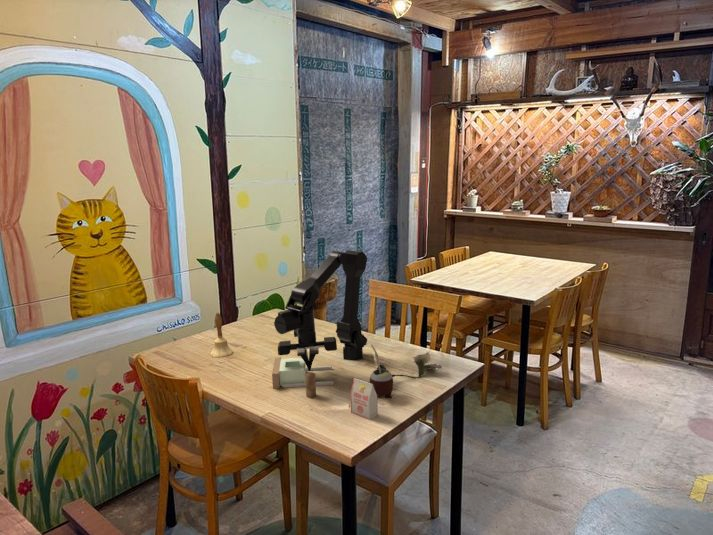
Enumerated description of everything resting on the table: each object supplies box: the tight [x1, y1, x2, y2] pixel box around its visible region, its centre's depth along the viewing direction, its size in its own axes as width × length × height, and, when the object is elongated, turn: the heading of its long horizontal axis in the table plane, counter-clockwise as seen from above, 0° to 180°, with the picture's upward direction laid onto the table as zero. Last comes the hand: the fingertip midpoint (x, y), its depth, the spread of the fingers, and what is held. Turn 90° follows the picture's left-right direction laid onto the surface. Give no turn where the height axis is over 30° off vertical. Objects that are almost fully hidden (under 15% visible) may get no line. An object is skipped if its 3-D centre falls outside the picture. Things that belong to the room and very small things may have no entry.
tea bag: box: [349, 377, 378, 421], centre depth 146 cm, size 4×7×10 cm, turn 50°
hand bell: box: [210, 312, 234, 358], centre depth 193 cm, size 8×8×16 cm
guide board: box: [271, 357, 335, 389], centre depth 168 cm, size 20×13×6 cm, turn 95°
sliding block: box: [279, 357, 307, 387], centre depth 168 cm, size 8×10×5 cm
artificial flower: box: [376, 351, 443, 379], centre depth 169 cm, size 9×22×10 cm, turn 110°
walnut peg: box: [305, 371, 317, 399], centre depth 156 cm, size 3×3×8 cm
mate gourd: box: [369, 344, 394, 400], centre depth 155 cm, size 8×8×15 cm
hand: (309, 370), depth 168 cm, fingers closed
